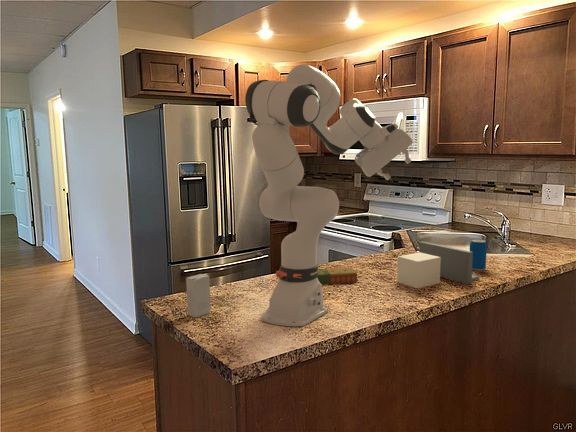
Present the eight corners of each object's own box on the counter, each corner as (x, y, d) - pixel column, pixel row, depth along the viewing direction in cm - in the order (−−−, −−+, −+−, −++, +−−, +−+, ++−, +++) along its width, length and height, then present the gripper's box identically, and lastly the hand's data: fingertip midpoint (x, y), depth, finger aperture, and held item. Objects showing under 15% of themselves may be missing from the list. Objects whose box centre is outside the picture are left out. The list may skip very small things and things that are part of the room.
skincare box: (202, 310, 148) (201, 273, 146) (211, 313, 145) (210, 275, 143) (186, 315, 143) (184, 277, 142) (195, 318, 140) (194, 279, 139)
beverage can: (485, 267, 194) (487, 239, 193) (485, 271, 188) (486, 242, 187) (469, 266, 197) (470, 238, 195) (468, 270, 191) (469, 241, 189)
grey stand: (467, 284, 171) (469, 252, 169) (418, 270, 192) (419, 241, 190) (483, 280, 176) (485, 249, 174) (433, 267, 196) (434, 239, 194)
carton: (357, 283, 176) (357, 272, 175) (315, 285, 174) (315, 274, 174) (351, 277, 184) (351, 266, 184) (311, 279, 183) (311, 268, 182)
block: (416, 288, 167) (417, 261, 166) (397, 282, 176) (397, 256, 174) (439, 283, 174) (440, 257, 172) (419, 277, 182) (420, 252, 181)
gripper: (354, 156, 159) (378, 187, 160) (399, 120, 161) (424, 151, 161) (350, 159, 166) (374, 189, 166) (394, 124, 167) (417, 154, 167)
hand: (399, 170), depth 164 cm, fingers open, 8 cm apart
